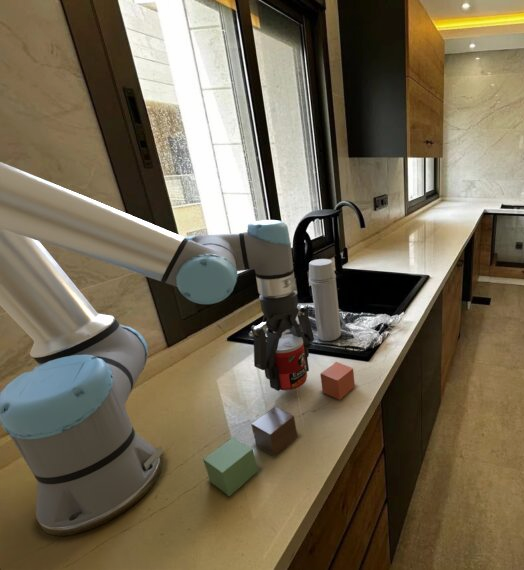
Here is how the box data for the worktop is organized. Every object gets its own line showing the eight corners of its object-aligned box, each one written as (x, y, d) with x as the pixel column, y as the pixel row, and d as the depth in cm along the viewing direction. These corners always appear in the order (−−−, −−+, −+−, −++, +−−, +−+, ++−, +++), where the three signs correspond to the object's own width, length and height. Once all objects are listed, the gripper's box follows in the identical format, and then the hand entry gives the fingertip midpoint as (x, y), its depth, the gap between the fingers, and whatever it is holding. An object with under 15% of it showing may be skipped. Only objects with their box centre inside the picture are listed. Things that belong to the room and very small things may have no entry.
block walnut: (256, 445, 65) (251, 423, 63) (279, 426, 69) (275, 406, 67) (274, 456, 62) (270, 434, 60) (297, 436, 67) (294, 415, 65)
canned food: (296, 393, 76) (291, 352, 72) (266, 388, 77) (258, 348, 73) (313, 374, 83) (309, 335, 79) (285, 369, 84) (279, 331, 80)
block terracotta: (322, 392, 80) (320, 373, 78) (338, 379, 84) (336, 361, 82) (339, 399, 77) (337, 380, 75) (354, 386, 82) (353, 368, 80)
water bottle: (325, 329, 109) (317, 257, 99) (346, 333, 106) (339, 259, 97) (308, 343, 100) (297, 266, 91) (330, 347, 98) (321, 269, 89)
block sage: (210, 482, 57) (202, 459, 55) (239, 458, 62) (233, 436, 60) (229, 496, 55) (222, 473, 53) (258, 471, 60) (252, 448, 57)
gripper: (245, 313, 61) (263, 410, 69) (324, 281, 78) (331, 362, 86) (221, 304, 65) (241, 398, 73) (302, 276, 82) (311, 354, 90)
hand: (290, 378), depth 80 cm, fingers closed on canned food, 8 cm apart
